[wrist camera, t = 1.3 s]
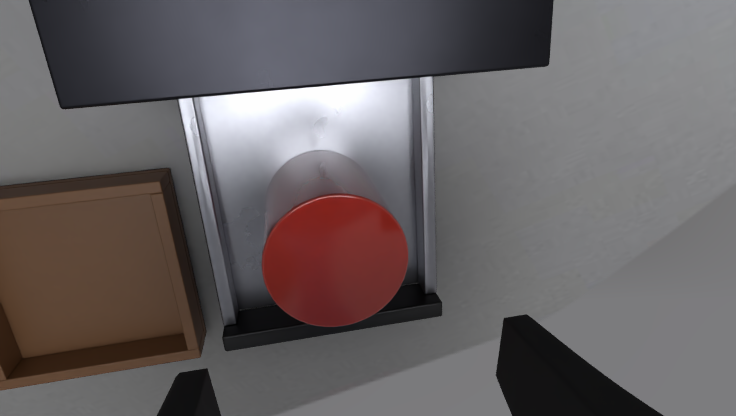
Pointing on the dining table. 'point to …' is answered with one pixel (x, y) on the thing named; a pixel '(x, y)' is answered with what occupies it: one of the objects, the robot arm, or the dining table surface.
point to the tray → (94, 278)
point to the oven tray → (288, 140)
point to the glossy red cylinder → (330, 241)
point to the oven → (276, 44)
